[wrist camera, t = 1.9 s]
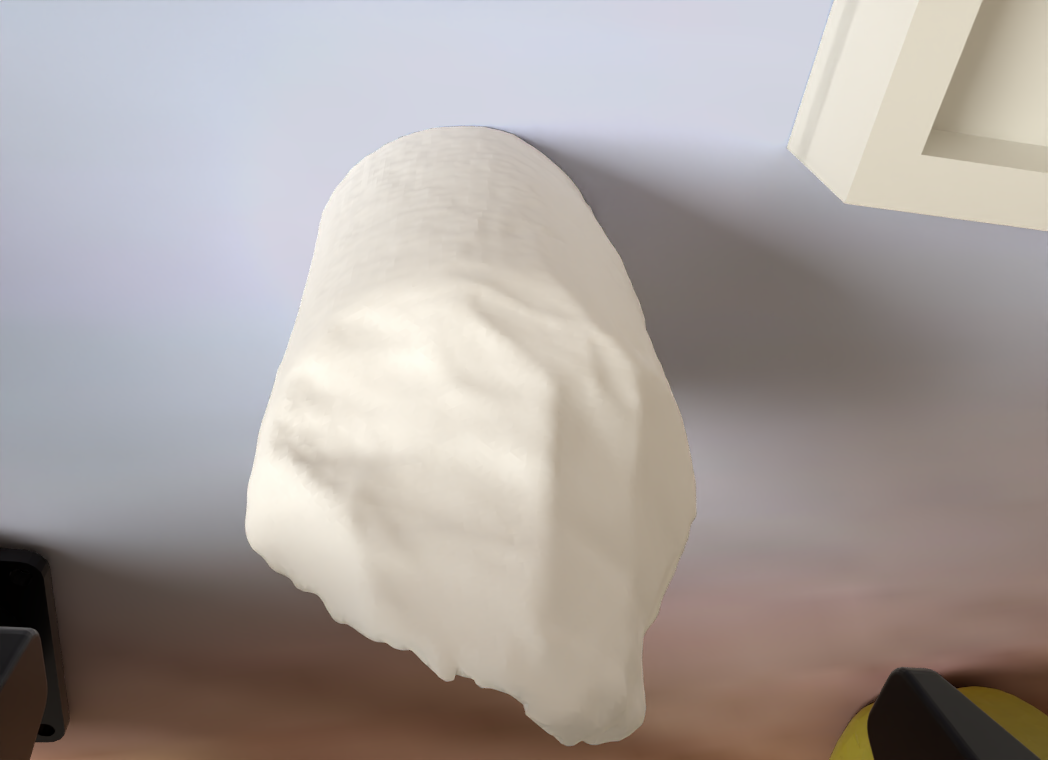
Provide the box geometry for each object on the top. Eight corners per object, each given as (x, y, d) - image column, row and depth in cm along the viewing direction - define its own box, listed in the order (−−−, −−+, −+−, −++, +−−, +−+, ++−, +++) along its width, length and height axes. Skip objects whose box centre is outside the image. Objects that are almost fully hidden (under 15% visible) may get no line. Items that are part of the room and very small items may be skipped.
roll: (146, 911, 9) (219, 484, 7) (294, 335, 19) (347, 74, 17) (686, 950, 11) (933, 610, 8) (561, 392, 21) (650, 159, 18)
